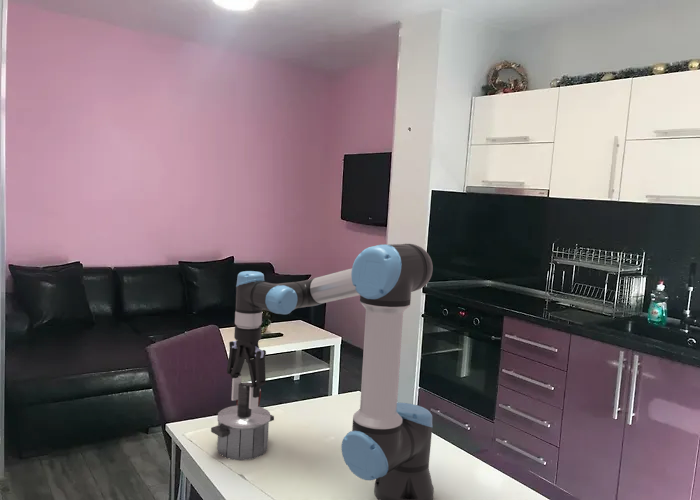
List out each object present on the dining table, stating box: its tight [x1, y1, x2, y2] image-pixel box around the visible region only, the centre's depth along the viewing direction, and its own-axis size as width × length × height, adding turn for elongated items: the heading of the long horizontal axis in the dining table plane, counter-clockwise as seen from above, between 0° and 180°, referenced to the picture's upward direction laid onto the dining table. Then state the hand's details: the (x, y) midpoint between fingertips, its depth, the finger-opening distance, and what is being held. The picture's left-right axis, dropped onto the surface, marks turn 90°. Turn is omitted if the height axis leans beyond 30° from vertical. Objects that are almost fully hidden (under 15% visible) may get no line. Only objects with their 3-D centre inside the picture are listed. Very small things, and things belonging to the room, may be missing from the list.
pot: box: [210, 414, 275, 461], centre depth 166 cm, size 14×19×9 cm
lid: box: [217, 381, 271, 430], centre depth 165 cm, size 15×15×12 cm
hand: (244, 403), depth 165 cm, fingers open, 7 cm apart
